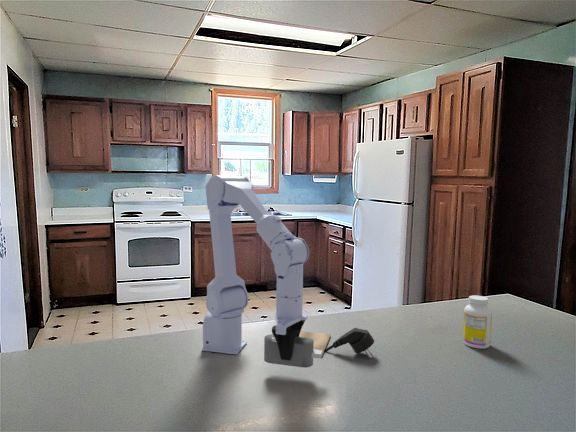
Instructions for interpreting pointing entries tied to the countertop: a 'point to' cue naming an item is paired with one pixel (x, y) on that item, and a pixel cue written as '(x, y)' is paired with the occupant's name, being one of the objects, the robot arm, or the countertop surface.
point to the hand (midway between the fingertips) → (288, 355)
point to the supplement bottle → (477, 323)
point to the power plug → (355, 341)
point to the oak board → (317, 339)
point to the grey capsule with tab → (300, 355)
